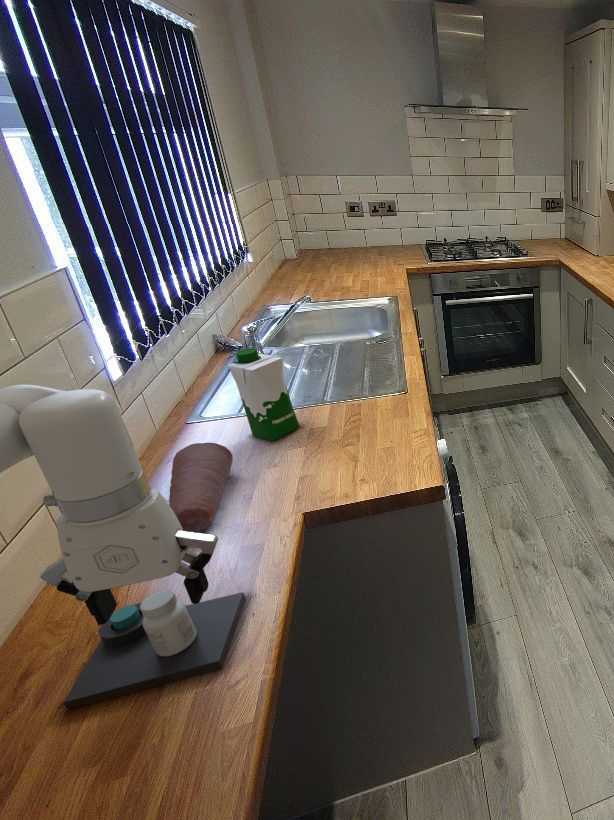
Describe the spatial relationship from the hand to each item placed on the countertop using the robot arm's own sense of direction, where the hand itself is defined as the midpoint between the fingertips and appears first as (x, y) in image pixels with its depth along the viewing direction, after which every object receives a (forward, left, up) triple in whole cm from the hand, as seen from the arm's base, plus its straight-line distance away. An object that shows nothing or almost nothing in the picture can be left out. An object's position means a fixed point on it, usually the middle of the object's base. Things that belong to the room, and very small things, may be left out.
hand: (155, 605), depth 67 cm
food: (-7, +35, -8) cm, 37 cm away
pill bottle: (0, 0, -7) cm, 7 cm away
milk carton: (+1, +62, -8) cm, 62 cm away
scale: (-1, +1, -8) cm, 8 cm away
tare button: (-6, +5, -6) cm, 10 cm away
